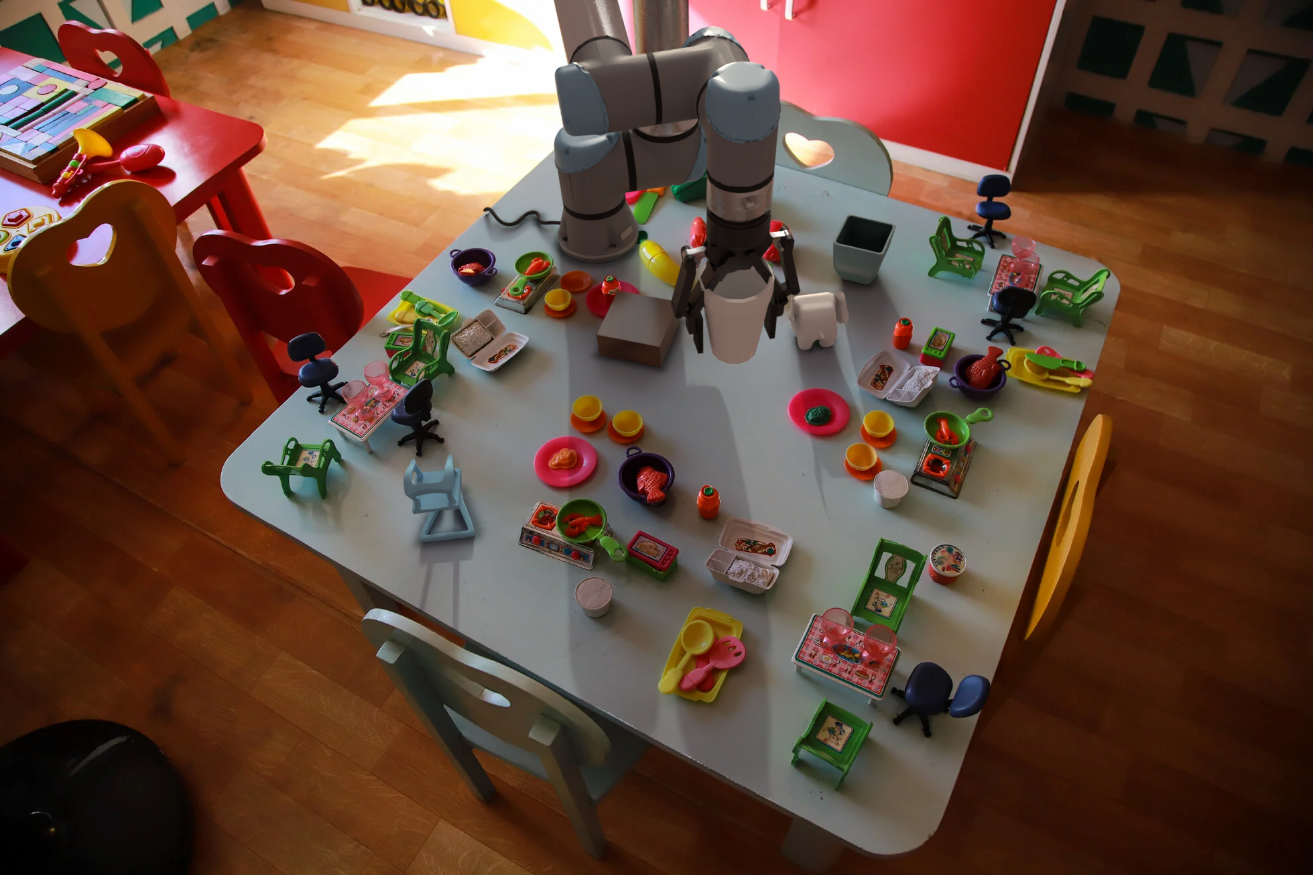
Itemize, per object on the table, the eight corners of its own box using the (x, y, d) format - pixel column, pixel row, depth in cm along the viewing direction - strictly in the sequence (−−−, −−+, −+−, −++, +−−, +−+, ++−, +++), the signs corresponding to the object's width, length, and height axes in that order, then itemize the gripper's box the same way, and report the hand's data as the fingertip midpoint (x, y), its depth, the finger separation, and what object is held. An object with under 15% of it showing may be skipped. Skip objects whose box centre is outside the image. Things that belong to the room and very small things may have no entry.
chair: (476, 489, 123) (456, 441, 114) (474, 536, 118) (454, 490, 109) (425, 495, 123) (401, 447, 114) (421, 543, 118) (395, 497, 109)
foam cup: (768, 324, 116) (774, 252, 105) (768, 373, 110) (774, 303, 100) (701, 322, 117) (700, 251, 106) (697, 371, 111) (696, 301, 101)
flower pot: (841, 252, 152) (847, 212, 144) (888, 264, 149) (897, 224, 142) (826, 282, 147) (832, 243, 140) (874, 295, 144) (883, 255, 137)
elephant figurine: (830, 306, 143) (836, 267, 136) (848, 355, 136) (856, 317, 129) (776, 312, 143) (780, 273, 136) (791, 363, 136) (796, 324, 129)
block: (599, 355, 139) (596, 334, 135) (620, 311, 145) (617, 290, 141) (661, 367, 137) (659, 347, 133) (679, 322, 143) (679, 301, 139)
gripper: (652, 243, 91) (661, 375, 109) (842, 207, 93) (820, 342, 111) (638, 202, 96) (649, 335, 114) (819, 168, 98) (801, 304, 116)
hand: (733, 339), depth 112 cm, fingers closed on foam cup, 9 cm apart
